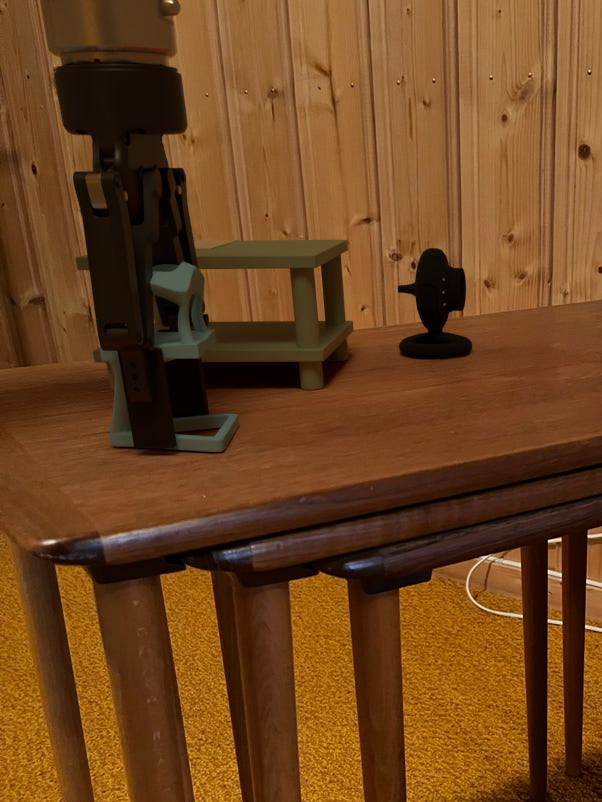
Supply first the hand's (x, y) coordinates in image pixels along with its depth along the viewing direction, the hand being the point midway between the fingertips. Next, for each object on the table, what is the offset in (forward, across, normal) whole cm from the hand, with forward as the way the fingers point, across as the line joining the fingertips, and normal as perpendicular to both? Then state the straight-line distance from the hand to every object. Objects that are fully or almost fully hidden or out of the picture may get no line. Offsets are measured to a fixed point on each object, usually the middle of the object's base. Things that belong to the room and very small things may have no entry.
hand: (173, 431), depth 70 cm
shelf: (+1, +24, +2) cm, 24 cm away
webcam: (+1, +34, -16) cm, 38 cm away
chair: (+1, 0, 0) cm, 1 cm away
